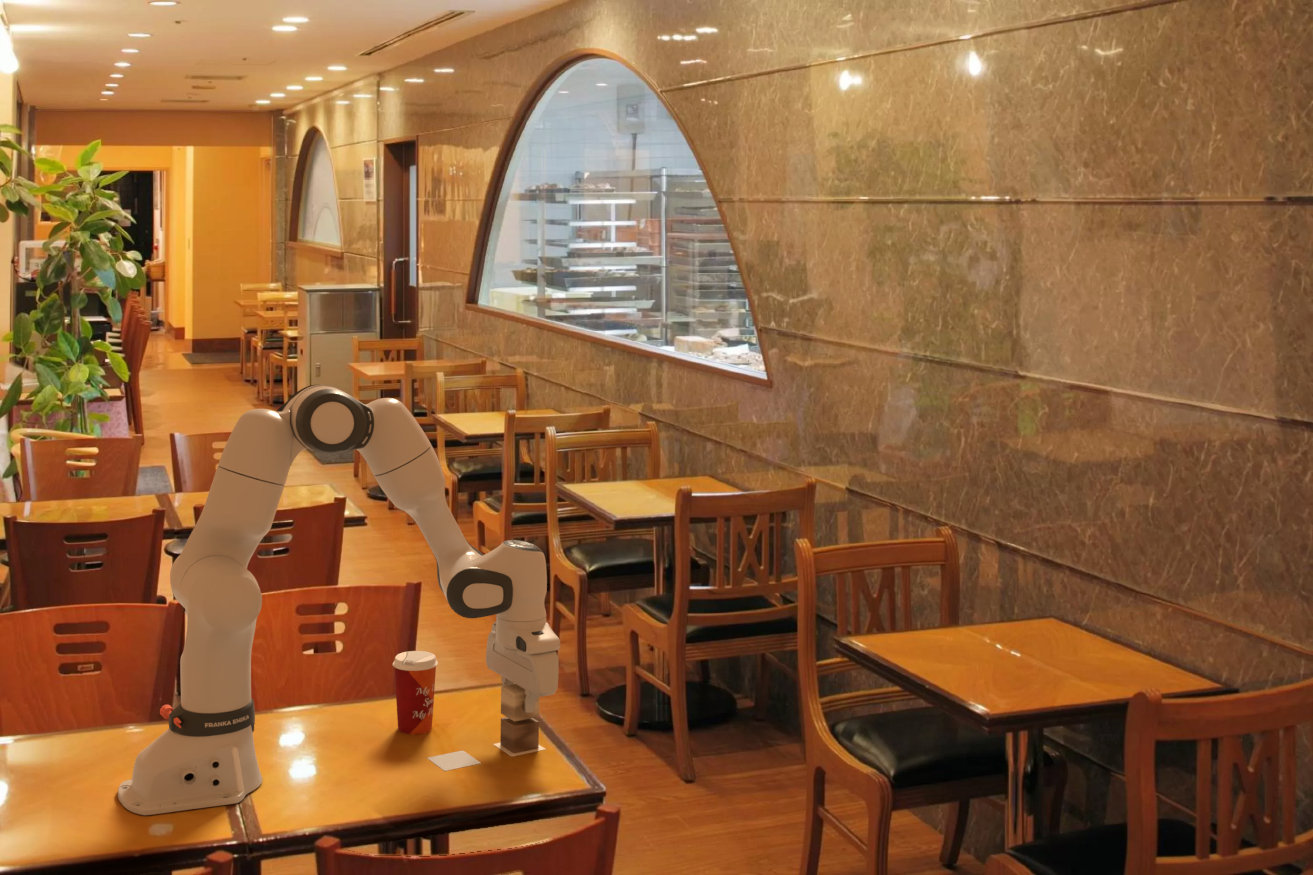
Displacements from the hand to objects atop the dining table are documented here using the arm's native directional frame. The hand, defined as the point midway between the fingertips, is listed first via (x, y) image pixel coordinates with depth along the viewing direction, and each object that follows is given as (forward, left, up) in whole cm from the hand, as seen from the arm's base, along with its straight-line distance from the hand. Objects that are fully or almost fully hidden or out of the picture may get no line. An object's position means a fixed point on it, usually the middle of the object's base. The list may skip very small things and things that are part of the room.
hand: (519, 706), depth 241 cm
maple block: (0, 0, -2) cm, 2 cm away
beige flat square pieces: (-6, 0, -9) cm, 11 cm away
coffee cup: (-12, +18, -9) cm, 23 cm away
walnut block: (0, 0, -8) cm, 8 cm away
